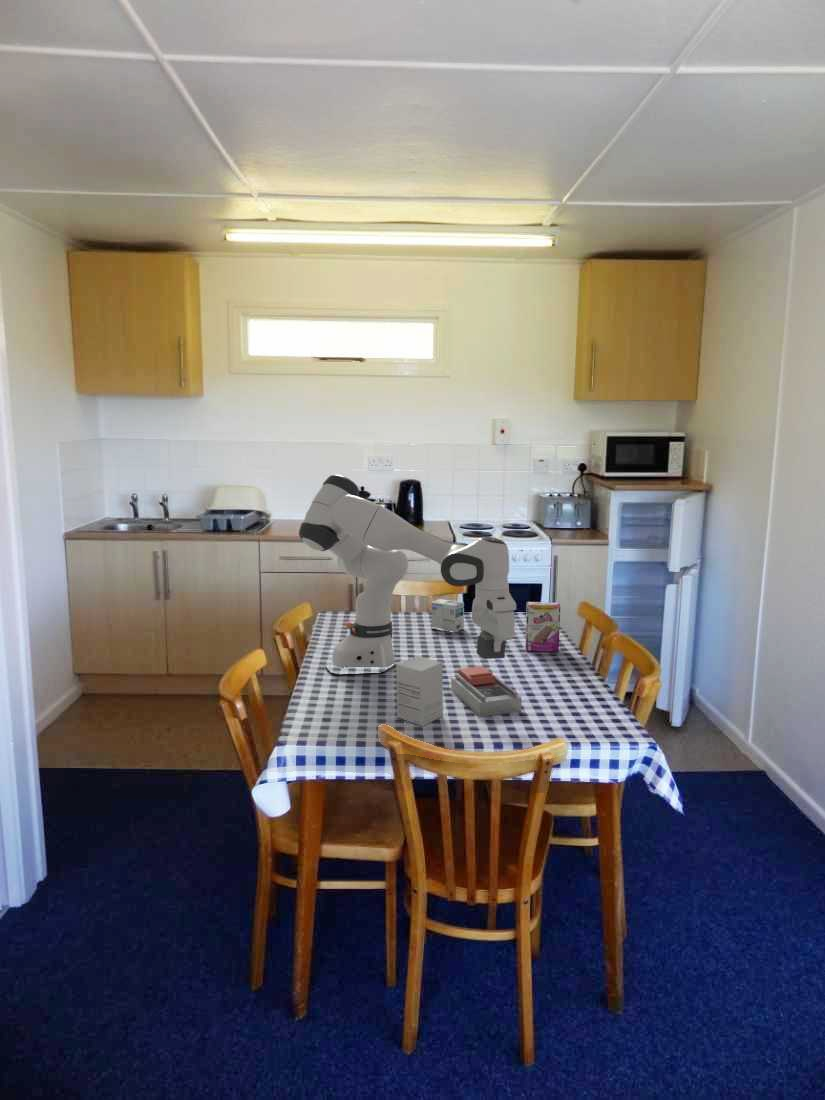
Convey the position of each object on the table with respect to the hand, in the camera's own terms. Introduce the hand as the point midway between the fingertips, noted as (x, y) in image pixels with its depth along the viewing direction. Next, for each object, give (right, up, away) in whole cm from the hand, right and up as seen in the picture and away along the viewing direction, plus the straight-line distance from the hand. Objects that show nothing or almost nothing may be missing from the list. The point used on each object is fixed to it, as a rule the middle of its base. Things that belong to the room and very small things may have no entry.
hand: (491, 647), depth 204 cm
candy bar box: (+23, -8, +53) cm, 58 cm away
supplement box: (-19, -18, -4) cm, 27 cm away
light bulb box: (-8, -4, +79) cm, 80 cm away
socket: (-1, -16, +7) cm, 17 cm away
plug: (0, -2, 0) cm, 2 cm away
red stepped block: (-3, -10, +12) cm, 16 cm away
